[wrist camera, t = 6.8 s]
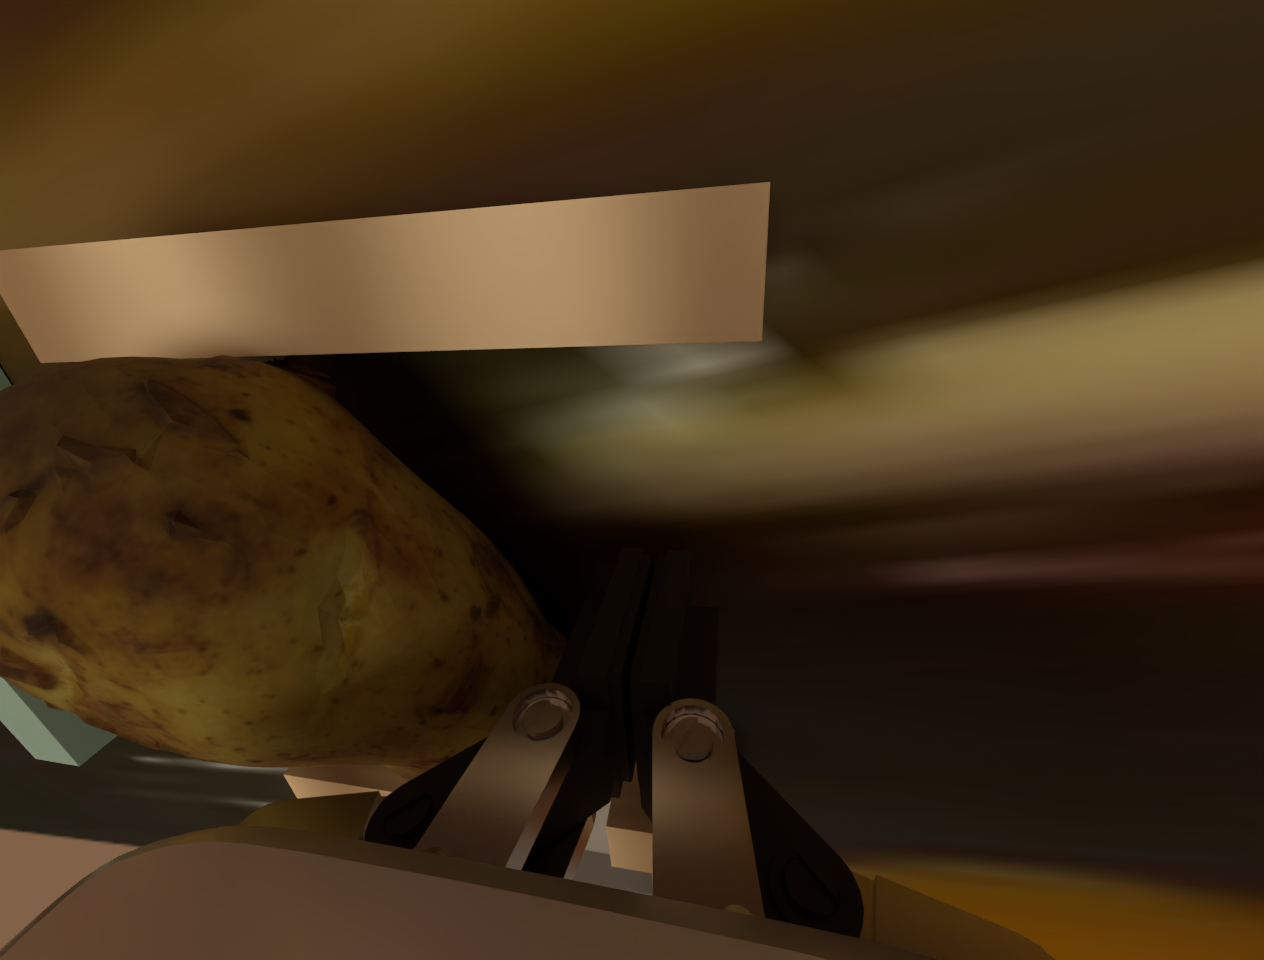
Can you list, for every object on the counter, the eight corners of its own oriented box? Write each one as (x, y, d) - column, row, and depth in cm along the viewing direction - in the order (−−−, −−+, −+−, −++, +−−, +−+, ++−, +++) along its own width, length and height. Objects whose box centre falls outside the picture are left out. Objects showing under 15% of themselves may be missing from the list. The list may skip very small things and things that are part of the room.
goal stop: (-27, 324, 14) (-279, 353, 11) (192, 673, 20) (79, 766, 17) (-76, 326, 14) (-335, 355, 11) (154, 669, 21) (35, 758, 17)
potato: (410, 687, 18) (203, 978, 11) (235, 331, 13) (-389, 448, 6) (627, 694, 16) (547, 1052, 9) (529, 277, 11) (142, 354, 4)
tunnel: (757, 200, 9) (770, 182, 6) (732, 767, 17) (732, 887, 14) (170, 248, 12) (-24, 252, 9) (373, 721, 19) (306, 812, 16)
